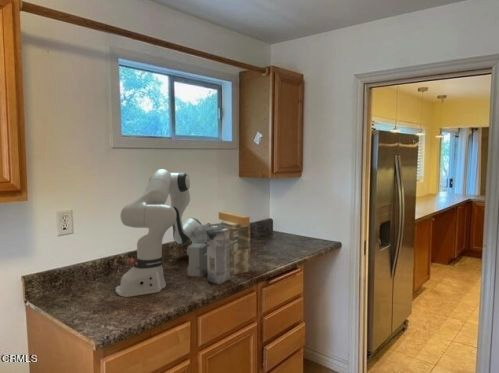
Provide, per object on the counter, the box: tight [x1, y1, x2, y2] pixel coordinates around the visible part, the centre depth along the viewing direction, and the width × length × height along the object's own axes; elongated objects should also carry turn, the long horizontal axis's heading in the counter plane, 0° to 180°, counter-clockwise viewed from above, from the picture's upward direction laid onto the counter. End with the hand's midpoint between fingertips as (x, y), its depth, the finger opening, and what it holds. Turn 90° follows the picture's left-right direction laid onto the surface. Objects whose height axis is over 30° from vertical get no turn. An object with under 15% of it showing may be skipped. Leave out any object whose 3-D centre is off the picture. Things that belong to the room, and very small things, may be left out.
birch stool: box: [220, 221, 252, 276], centre depth 200 cm, size 12×10×26 cm
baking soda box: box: [234, 228, 238, 251], centre depth 239 cm, size 10×6×16 cm
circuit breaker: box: [186, 243, 207, 277], centre depth 195 cm, size 8×14×15 cm, turn 78°
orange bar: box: [218, 211, 251, 226], centre depth 201 cm, size 4×24×4 cm, turn 35°
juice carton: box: [206, 226, 231, 285], centre depth 184 cm, size 9×10×27 cm
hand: (216, 223), depth 215 cm, fingers open, 8 cm apart
